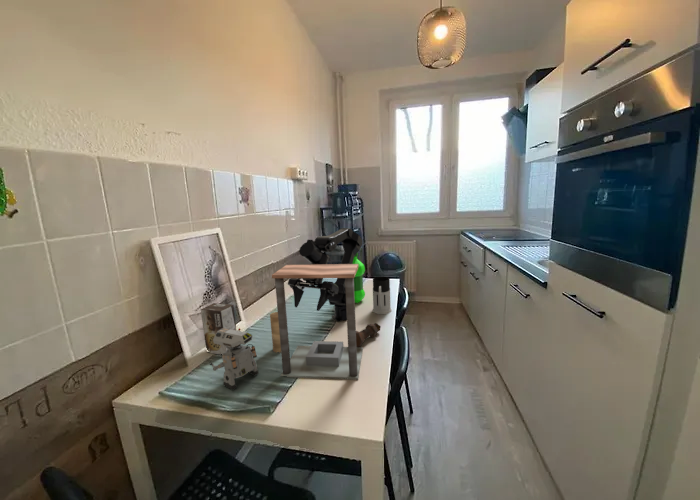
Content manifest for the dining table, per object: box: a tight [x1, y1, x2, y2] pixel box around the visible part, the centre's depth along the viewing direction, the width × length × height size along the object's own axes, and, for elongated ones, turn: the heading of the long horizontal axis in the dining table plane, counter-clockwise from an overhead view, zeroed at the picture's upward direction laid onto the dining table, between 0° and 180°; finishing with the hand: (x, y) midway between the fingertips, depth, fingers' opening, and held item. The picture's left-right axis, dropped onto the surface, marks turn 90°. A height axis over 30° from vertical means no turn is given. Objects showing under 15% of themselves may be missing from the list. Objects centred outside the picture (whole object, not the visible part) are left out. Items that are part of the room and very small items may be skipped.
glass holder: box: [372, 276, 393, 315], centre depth 131 cm, size 9×14×15 cm, turn 170°
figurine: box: [209, 328, 259, 391], centre depth 85 cm, size 9×12×15 cm
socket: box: [306, 340, 345, 366], centre depth 95 cm, size 10×10×4 cm
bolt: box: [356, 322, 381, 347], centre depth 107 cm, size 6×5×15 cm
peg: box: [269, 311, 281, 353], centre depth 102 cm, size 4×4×13 cm
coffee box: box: [200, 302, 237, 355], centre depth 103 cm, size 9×6×16 cm
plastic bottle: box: [353, 252, 366, 304], centre depth 146 cm, size 10×10×25 cm
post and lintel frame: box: [271, 263, 364, 380], centre depth 91 cm, size 18×23×31 cm
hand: (306, 308), depth 103 cm, fingers open, 9 cm apart
